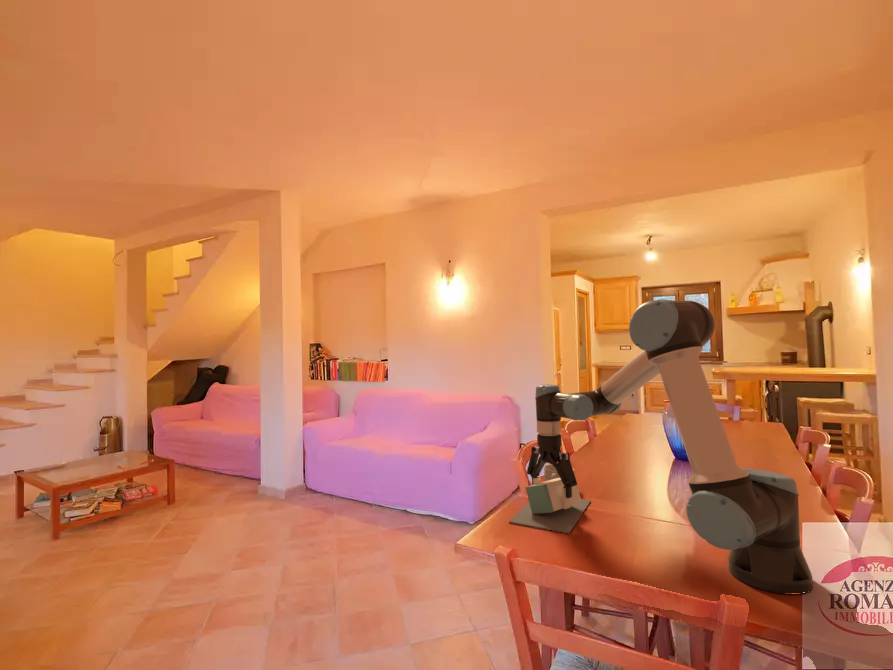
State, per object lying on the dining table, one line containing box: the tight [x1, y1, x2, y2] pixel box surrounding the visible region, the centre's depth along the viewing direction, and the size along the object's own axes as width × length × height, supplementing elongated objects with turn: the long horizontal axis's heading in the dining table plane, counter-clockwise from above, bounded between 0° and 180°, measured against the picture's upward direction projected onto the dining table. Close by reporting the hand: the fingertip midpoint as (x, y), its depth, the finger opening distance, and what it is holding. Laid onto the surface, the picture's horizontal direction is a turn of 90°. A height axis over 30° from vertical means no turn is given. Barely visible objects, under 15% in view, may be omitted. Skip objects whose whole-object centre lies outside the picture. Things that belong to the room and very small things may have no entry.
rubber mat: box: [508, 498, 592, 535], centre depth 140 cm, size 28×18×1 cm, turn 150°
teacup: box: [543, 464, 576, 482], centre depth 160 cm, size 14×11×8 cm
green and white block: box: [525, 478, 582, 514], centre depth 140 cm, size 8×8×14 cm
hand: (551, 502), depth 140 cm, fingers open, 11 cm apart
